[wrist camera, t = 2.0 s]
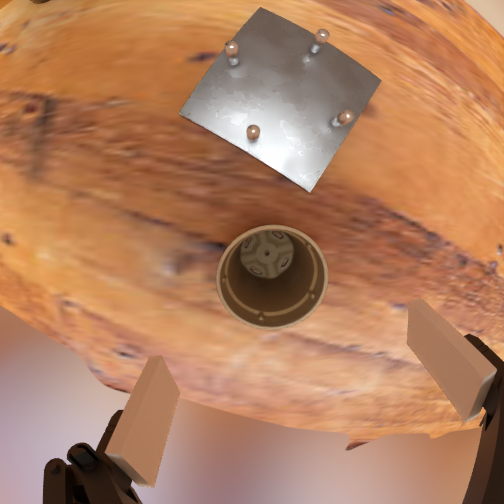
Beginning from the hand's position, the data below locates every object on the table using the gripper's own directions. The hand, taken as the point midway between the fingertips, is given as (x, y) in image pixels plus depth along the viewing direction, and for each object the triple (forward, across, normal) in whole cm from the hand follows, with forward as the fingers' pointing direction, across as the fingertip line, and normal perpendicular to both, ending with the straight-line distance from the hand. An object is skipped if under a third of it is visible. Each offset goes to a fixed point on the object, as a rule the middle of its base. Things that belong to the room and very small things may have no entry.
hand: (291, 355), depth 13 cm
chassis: (+19, +6, +17) cm, 26 cm away
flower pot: (+19, 0, 0) cm, 19 cm away
